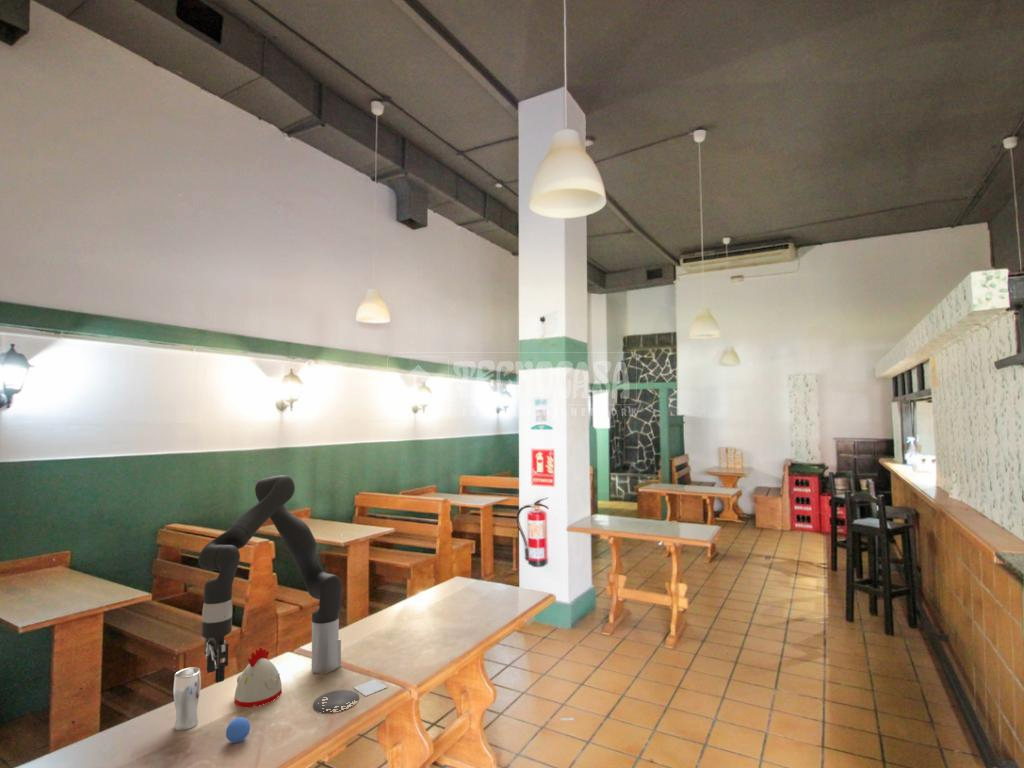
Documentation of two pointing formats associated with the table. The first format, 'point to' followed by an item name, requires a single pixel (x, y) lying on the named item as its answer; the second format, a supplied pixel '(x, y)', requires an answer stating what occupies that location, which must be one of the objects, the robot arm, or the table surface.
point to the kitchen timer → (258, 681)
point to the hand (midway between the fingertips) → (215, 676)
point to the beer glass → (186, 697)
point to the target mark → (335, 700)
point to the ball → (238, 730)
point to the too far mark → (370, 687)
